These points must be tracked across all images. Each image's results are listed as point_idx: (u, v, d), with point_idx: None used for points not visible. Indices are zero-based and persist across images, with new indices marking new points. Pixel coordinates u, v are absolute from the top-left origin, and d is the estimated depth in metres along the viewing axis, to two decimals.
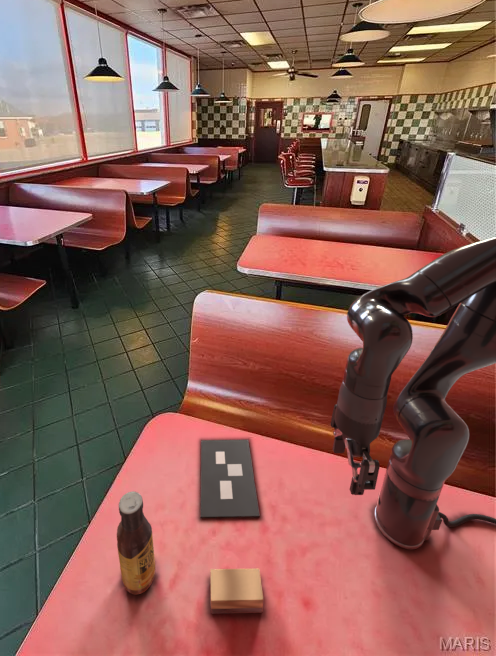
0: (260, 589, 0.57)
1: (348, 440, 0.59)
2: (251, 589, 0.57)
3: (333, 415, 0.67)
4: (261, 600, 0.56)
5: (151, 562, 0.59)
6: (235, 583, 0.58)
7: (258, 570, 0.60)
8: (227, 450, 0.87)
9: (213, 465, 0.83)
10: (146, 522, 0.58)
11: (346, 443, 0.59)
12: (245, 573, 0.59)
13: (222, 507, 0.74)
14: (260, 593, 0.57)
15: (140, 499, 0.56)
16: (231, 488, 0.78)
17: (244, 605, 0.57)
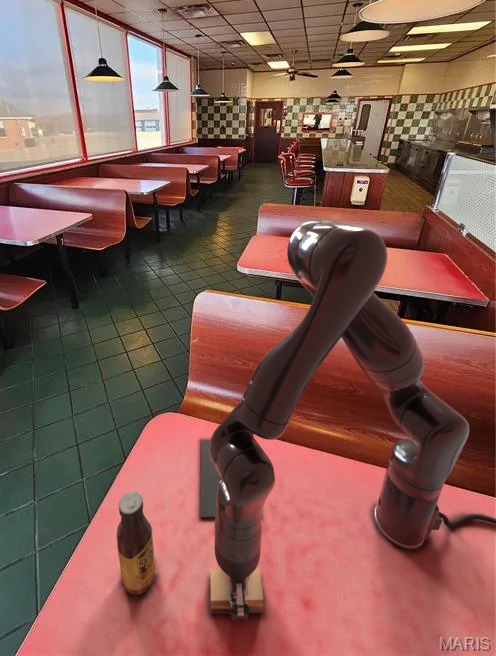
0: (260, 589, 0.57)
1: None
2: (251, 589, 0.57)
3: None
4: (261, 600, 0.56)
5: (151, 562, 0.59)
6: None
7: (258, 570, 0.60)
8: None
9: (213, 465, 0.83)
10: (146, 522, 0.58)
11: None
12: None
13: None
14: (260, 593, 0.57)
15: (140, 499, 0.56)
16: None
17: None
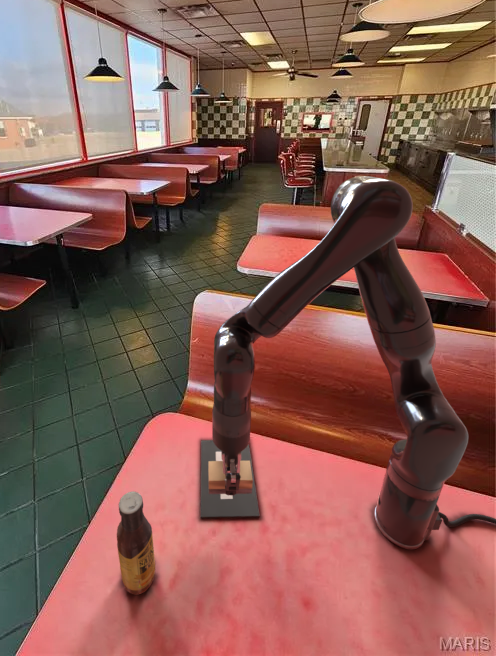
0: (250, 473, 0.68)
1: (223, 452, 0.65)
2: (242, 473, 0.68)
3: None
4: (251, 480, 0.67)
5: (151, 562, 0.59)
6: None
7: (249, 461, 0.71)
8: None
9: None
10: (146, 522, 0.58)
11: (221, 454, 0.65)
12: None
13: (222, 507, 0.74)
14: (250, 476, 0.68)
15: (140, 499, 0.56)
16: None
17: None
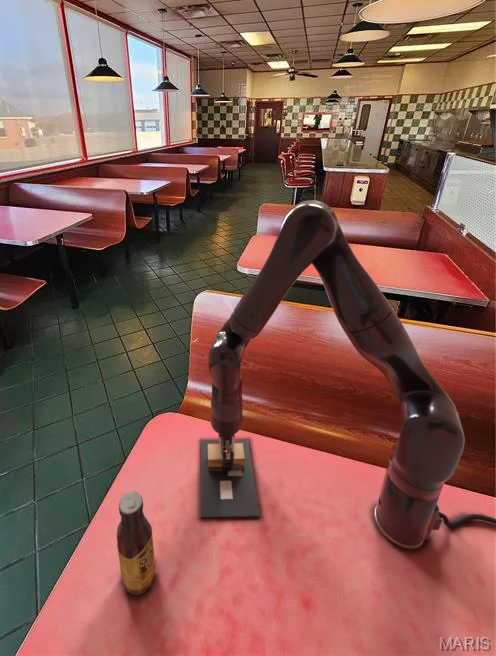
0: (242, 453, 0.82)
1: (219, 435, 0.79)
2: (236, 453, 0.82)
3: None
4: (243, 459, 0.81)
5: (151, 562, 0.59)
6: None
7: (241, 444, 0.85)
8: None
9: None
10: (146, 522, 0.58)
11: None
12: None
13: (222, 507, 0.74)
14: (242, 455, 0.81)
15: (140, 499, 0.56)
16: (231, 488, 0.78)
17: None
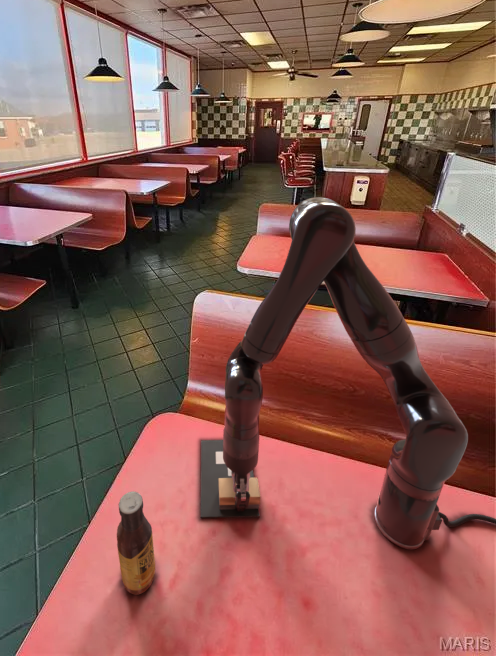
0: (258, 490, 0.73)
1: (233, 472, 0.70)
2: (251, 490, 0.73)
3: None
4: (259, 497, 0.72)
5: (151, 562, 0.59)
6: None
7: (256, 478, 0.76)
8: None
9: (213, 465, 0.83)
10: (146, 522, 0.58)
11: (231, 473, 0.70)
12: None
13: None
14: (258, 492, 0.73)
15: (140, 499, 0.56)
16: None
17: None
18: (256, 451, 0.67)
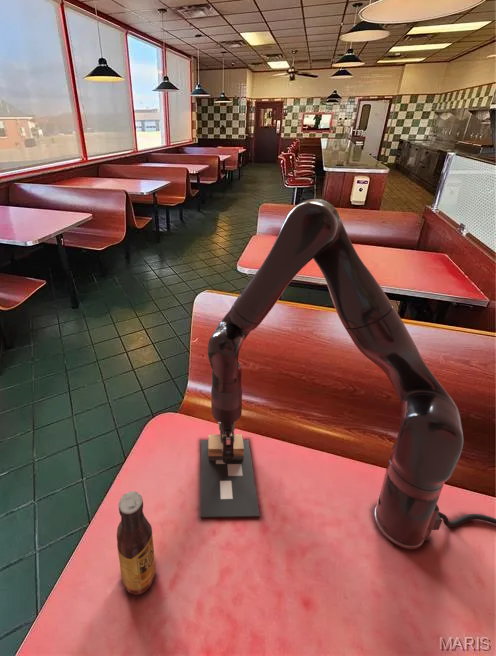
0: (242, 443, 0.85)
1: (220, 423, 0.81)
2: (236, 443, 0.85)
3: None
4: (242, 449, 0.83)
5: (151, 562, 0.59)
6: None
7: (241, 435, 0.87)
8: None
9: (213, 465, 0.83)
10: (146, 522, 0.58)
11: (219, 425, 0.81)
12: None
13: (222, 507, 0.74)
14: (242, 445, 0.84)
15: (140, 499, 0.56)
16: (231, 488, 0.78)
17: None
18: (239, 404, 0.78)
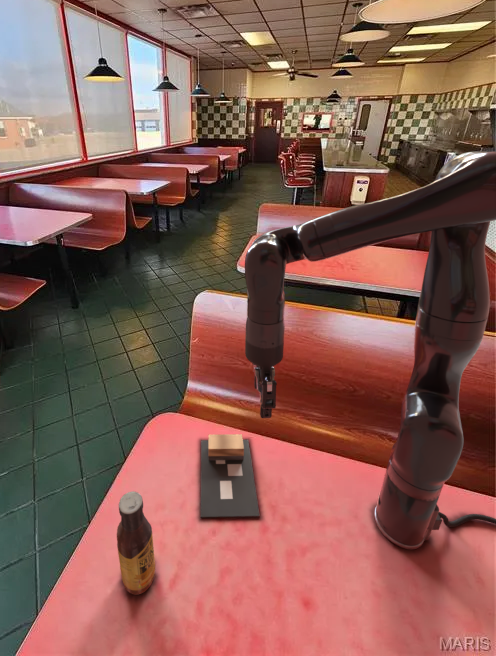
0: (242, 443, 0.85)
1: (256, 368, 0.65)
2: (236, 443, 0.85)
3: None
4: (242, 449, 0.83)
5: (151, 562, 0.59)
6: (225, 441, 0.85)
7: (241, 435, 0.87)
8: None
9: (213, 465, 0.83)
10: (146, 522, 0.58)
11: (254, 371, 0.66)
12: (232, 436, 0.87)
13: (222, 507, 0.74)
14: (242, 445, 0.84)
15: (140, 499, 0.56)
16: (231, 488, 0.78)
17: (231, 453, 0.84)
18: (282, 341, 0.62)
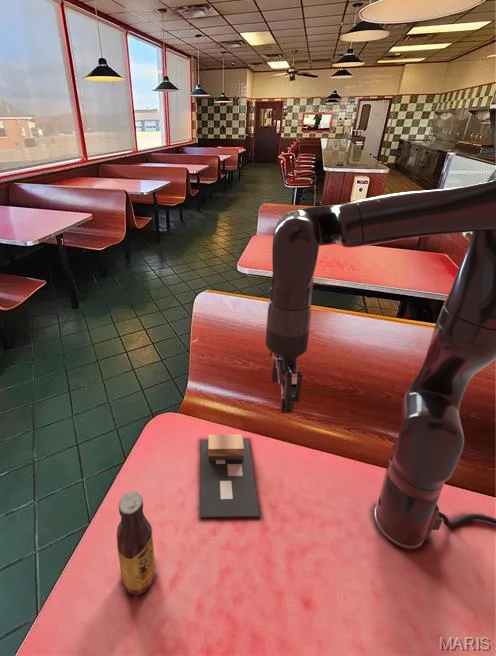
0: (242, 443, 0.85)
1: (278, 359, 0.60)
2: (236, 443, 0.85)
3: None
4: (242, 449, 0.83)
5: (151, 562, 0.59)
6: (225, 441, 0.85)
7: (241, 435, 0.87)
8: None
9: (213, 465, 0.83)
10: (146, 522, 0.58)
11: (276, 362, 0.60)
12: (232, 436, 0.87)
13: (222, 507, 0.74)
14: (242, 445, 0.84)
15: (140, 499, 0.56)
16: (231, 488, 0.78)
17: (231, 453, 0.84)
18: (308, 330, 0.57)
